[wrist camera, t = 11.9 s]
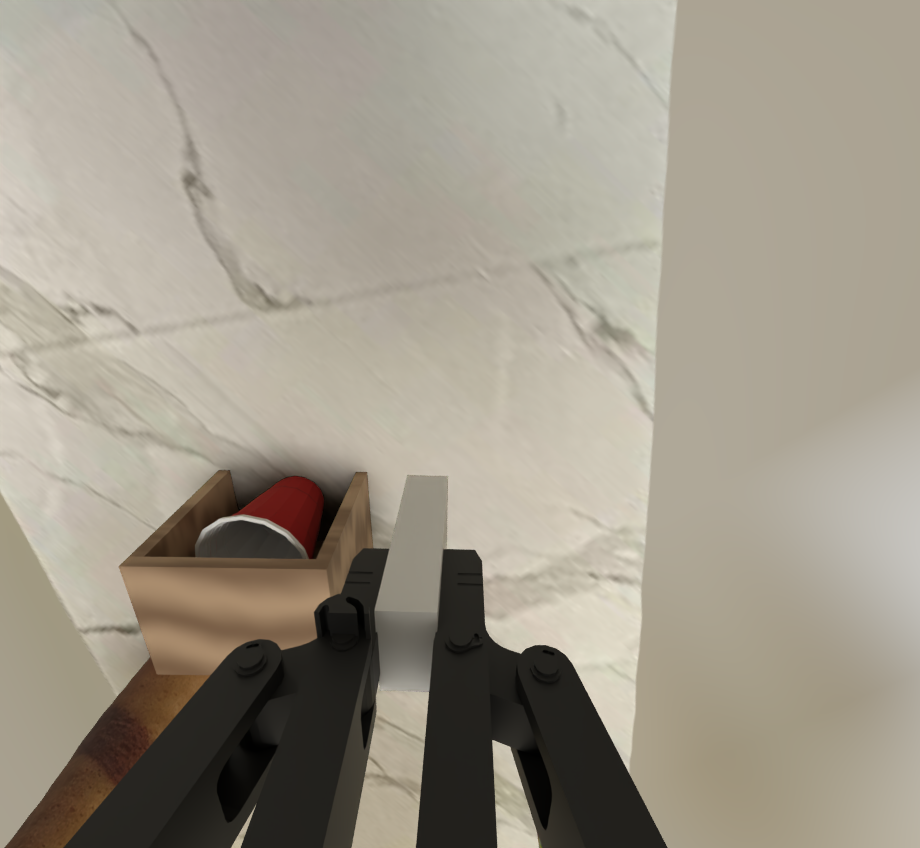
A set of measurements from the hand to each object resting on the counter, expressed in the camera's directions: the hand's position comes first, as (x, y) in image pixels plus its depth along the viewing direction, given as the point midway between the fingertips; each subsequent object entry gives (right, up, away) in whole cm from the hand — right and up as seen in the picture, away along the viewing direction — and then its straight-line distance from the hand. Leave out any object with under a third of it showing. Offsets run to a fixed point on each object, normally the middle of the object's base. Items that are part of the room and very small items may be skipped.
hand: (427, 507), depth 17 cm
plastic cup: (-17, -5, +34) cm, 39 cm away
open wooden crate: (-17, -8, +35) cm, 40 cm away
